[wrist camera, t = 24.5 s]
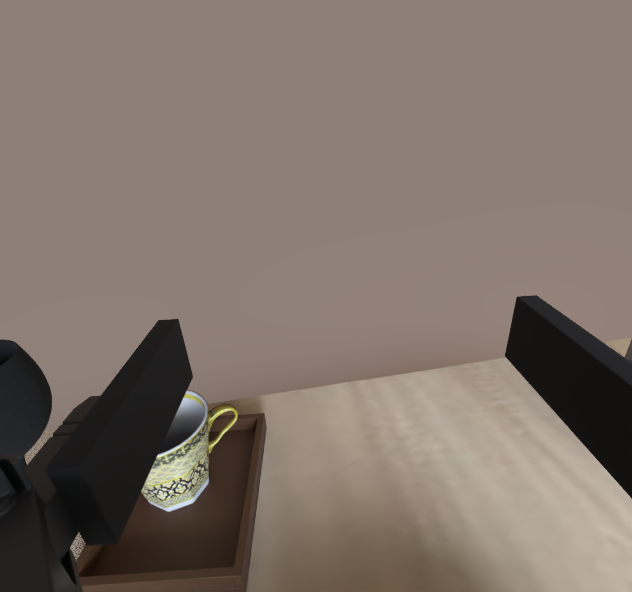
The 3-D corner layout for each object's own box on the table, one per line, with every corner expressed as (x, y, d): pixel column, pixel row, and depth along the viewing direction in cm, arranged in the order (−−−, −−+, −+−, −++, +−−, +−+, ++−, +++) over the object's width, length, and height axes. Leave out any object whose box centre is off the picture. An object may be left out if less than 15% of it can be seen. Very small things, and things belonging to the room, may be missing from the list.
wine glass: (17, 478, 45) (-65, 344, 36) (106, 460, 46) (48, 328, 38) (-39, 568, 35) (-166, 416, 27) (75, 541, 37) (-11, 390, 29)
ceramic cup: (130, 543, 36) (98, 475, 32) (136, 466, 44) (112, 404, 40) (256, 495, 40) (243, 428, 36) (240, 432, 48) (228, 373, 44)
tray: (266, 428, 50) (264, 413, 49) (245, 593, 32) (241, 575, 31) (155, 435, 50) (150, 420, 49) (73, 605, 32) (62, 587, 31)
